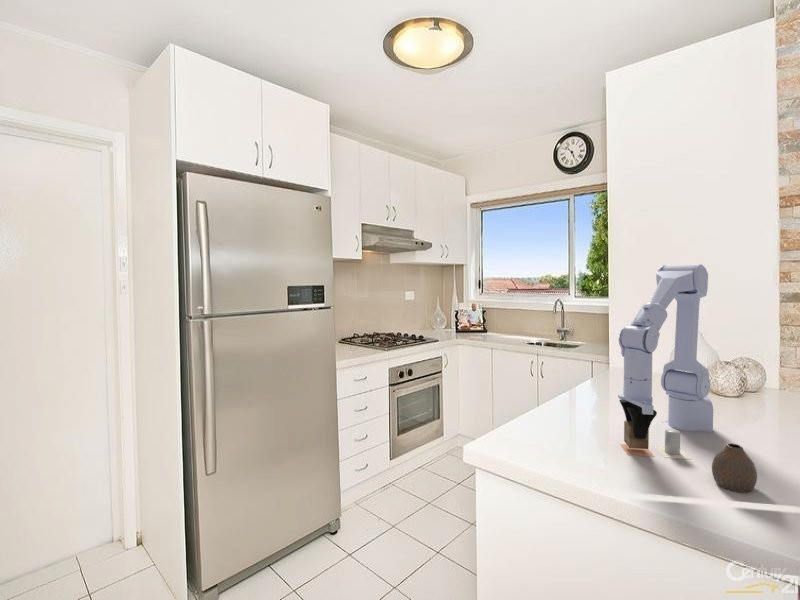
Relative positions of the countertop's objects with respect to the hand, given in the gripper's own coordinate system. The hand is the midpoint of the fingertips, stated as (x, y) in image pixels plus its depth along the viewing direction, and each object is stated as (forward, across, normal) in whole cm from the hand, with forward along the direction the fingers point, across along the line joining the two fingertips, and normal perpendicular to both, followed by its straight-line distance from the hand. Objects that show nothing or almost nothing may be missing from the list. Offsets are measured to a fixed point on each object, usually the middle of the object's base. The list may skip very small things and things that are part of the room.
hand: (636, 434), depth 98 cm
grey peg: (+4, 0, +8) cm, 8 cm away
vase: (+5, +14, +13) cm, 20 cm away
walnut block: (+2, 0, 0) cm, 3 cm away
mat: (+5, 0, +4) cm, 6 cm away
